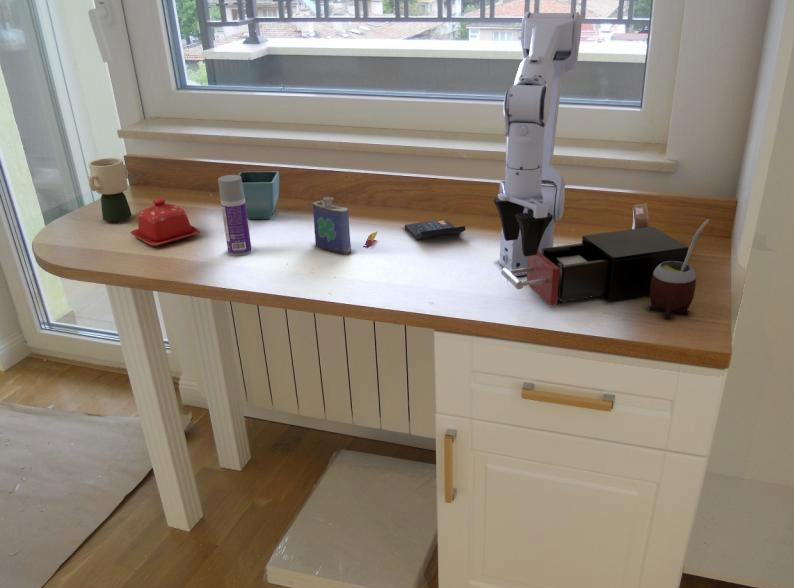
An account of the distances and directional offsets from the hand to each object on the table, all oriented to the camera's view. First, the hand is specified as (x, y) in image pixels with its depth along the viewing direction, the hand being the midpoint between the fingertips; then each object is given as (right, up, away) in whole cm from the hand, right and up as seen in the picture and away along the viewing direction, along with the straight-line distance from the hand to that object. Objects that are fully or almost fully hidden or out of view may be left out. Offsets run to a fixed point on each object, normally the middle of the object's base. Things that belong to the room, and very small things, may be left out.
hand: (520, 247), depth 133 cm
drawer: (+7, -7, +7) cm, 12 cm away
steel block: (+10, -5, +7) cm, 13 cm away
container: (-53, +4, +29) cm, 60 cm away
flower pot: (-52, +15, +48) cm, 72 cm away
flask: (-34, +4, +29) cm, 45 cm away
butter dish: (-70, +8, +37) cm, 80 cm away
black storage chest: (+21, -5, +10) cm, 24 cm away
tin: (+26, +3, +24) cm, 36 cm away
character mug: (-85, +14, +48) cm, 98 cm away
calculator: (-13, +8, +35) cm, 39 cm away
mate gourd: (+25, -11, +1) cm, 27 cm away
